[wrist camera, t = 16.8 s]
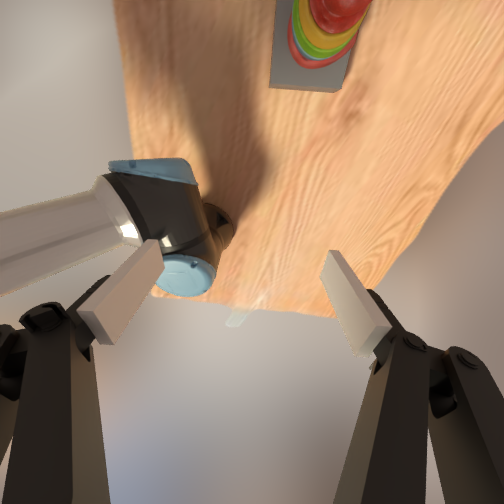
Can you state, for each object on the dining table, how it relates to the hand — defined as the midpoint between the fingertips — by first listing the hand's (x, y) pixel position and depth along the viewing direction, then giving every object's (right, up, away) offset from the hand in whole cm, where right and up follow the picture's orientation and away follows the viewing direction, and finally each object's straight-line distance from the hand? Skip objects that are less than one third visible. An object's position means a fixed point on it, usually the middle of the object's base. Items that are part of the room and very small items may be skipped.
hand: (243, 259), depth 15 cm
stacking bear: (+11, +37, +15) cm, 41 cm away
